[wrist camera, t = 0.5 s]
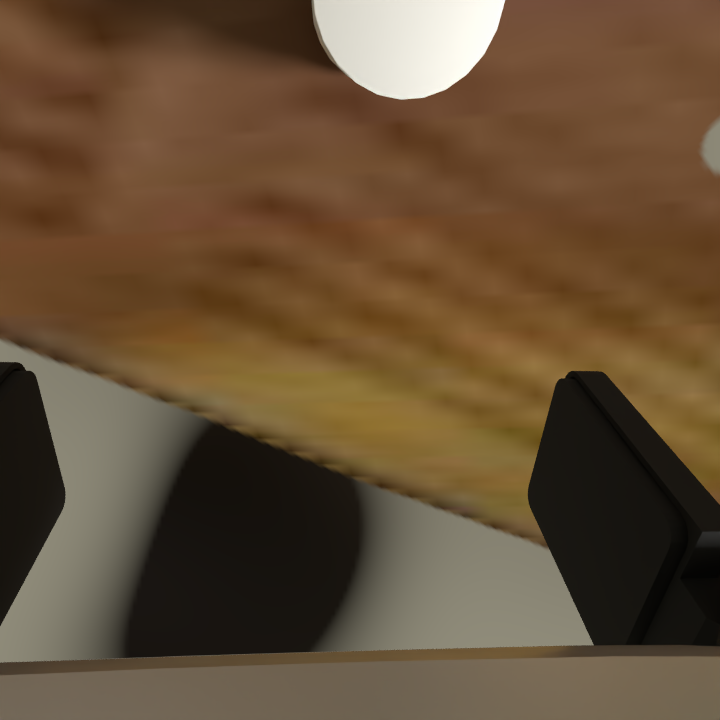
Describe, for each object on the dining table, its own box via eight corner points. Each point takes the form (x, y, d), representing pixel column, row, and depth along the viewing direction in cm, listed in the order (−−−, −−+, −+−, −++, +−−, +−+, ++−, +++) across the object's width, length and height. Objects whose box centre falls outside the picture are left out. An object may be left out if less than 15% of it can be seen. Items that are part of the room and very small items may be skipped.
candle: (439, 64, 34) (516, 78, 21) (326, 89, 34) (334, 119, 21) (423, -75, 31) (503, -161, 18) (298, -46, 31) (288, -109, 18)
